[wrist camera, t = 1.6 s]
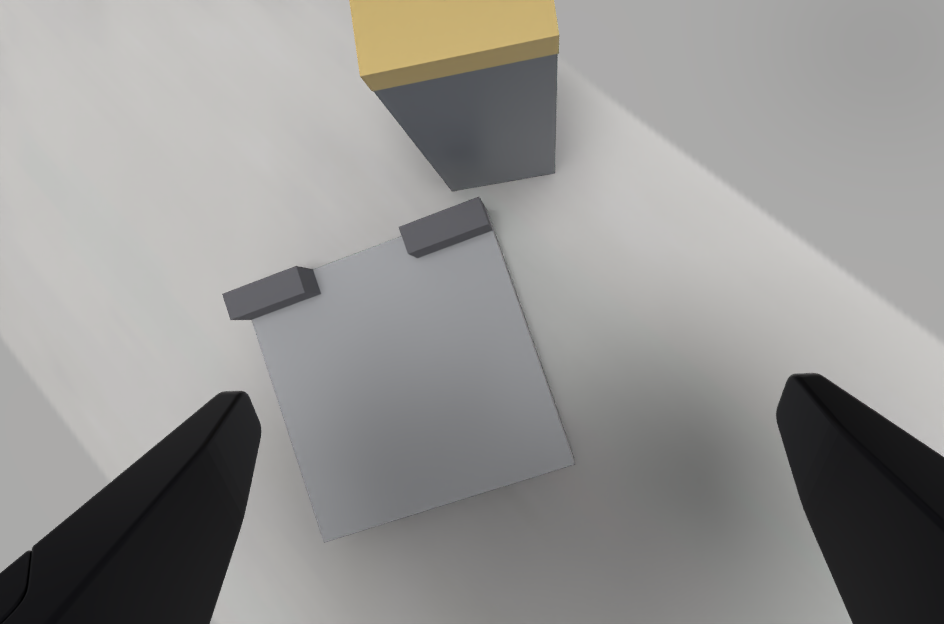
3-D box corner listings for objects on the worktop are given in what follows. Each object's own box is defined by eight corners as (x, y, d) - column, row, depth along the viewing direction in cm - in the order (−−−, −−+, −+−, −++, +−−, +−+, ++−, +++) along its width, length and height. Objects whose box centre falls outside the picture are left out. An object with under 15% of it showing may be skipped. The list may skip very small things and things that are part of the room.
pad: (574, 457, 22) (576, 475, 20) (333, 532, 23) (307, 558, 21) (487, 209, 23) (478, 196, 20) (256, 296, 24) (222, 294, 21)
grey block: (555, 173, 22) (559, 35, 11) (451, 191, 23) (360, 76, 12) (539, 69, 22) (529, -167, 11) (437, 90, 23) (332, -117, 12)
